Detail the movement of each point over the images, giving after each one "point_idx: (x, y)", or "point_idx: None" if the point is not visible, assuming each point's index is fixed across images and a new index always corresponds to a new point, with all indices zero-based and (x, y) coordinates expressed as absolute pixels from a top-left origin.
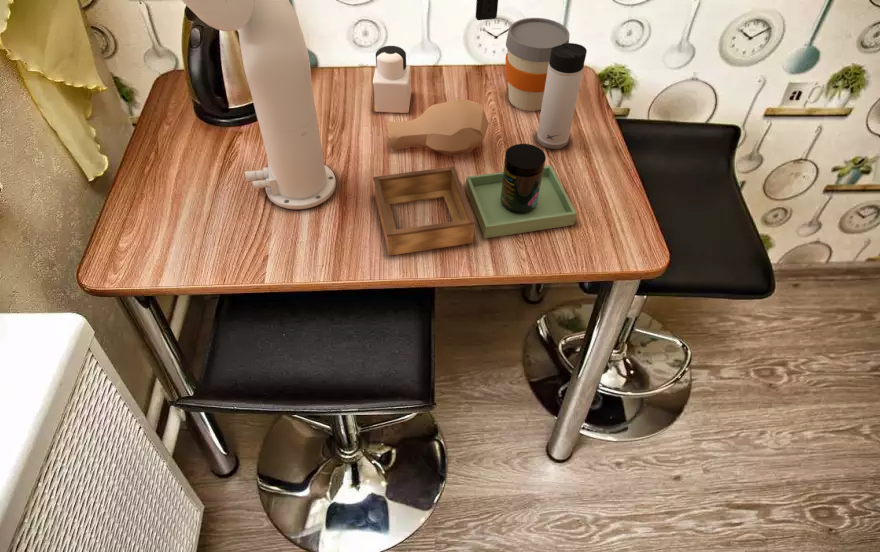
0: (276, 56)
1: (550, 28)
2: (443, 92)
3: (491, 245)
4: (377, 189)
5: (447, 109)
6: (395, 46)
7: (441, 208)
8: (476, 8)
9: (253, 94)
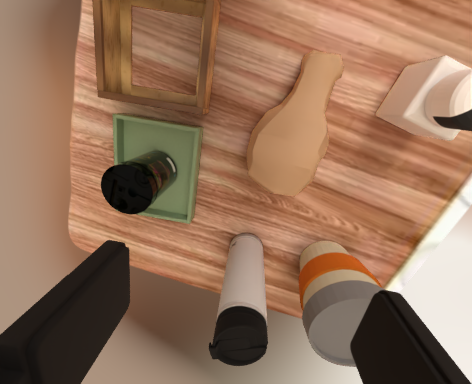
0: None
1: None
2: (392, 179)
3: (112, 116)
4: None
5: (296, 146)
6: None
7: (179, 84)
8: (84, 268)
9: None
